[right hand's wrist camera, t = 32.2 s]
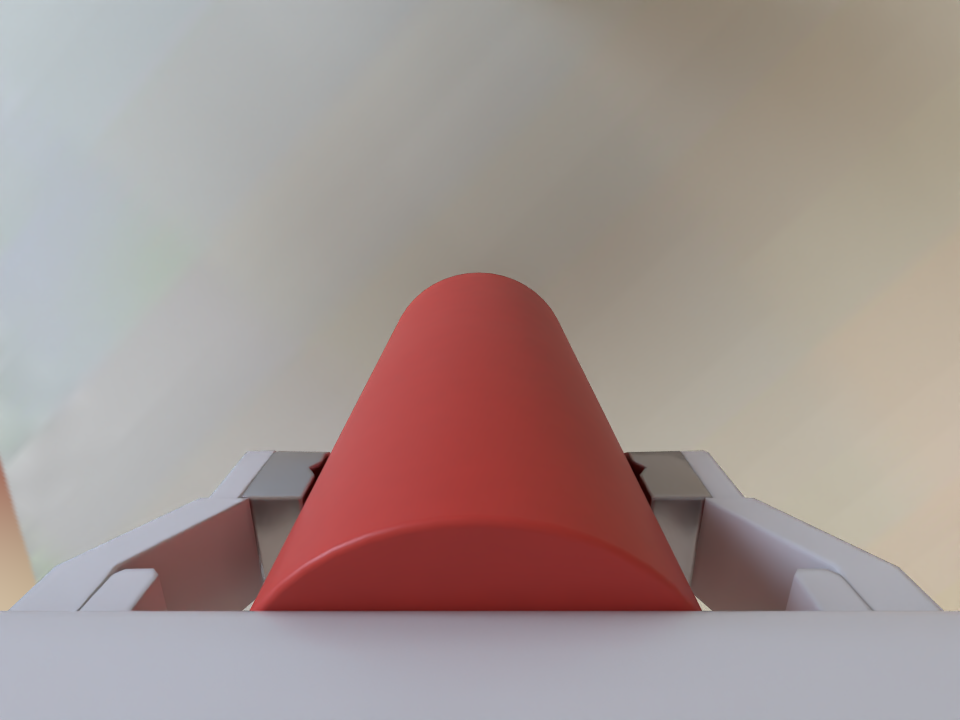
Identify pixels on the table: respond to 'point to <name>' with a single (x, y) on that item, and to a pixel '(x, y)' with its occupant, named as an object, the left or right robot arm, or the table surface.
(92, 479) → the table surface
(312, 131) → the table surface
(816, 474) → the table surface
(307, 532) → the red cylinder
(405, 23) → the table surface
